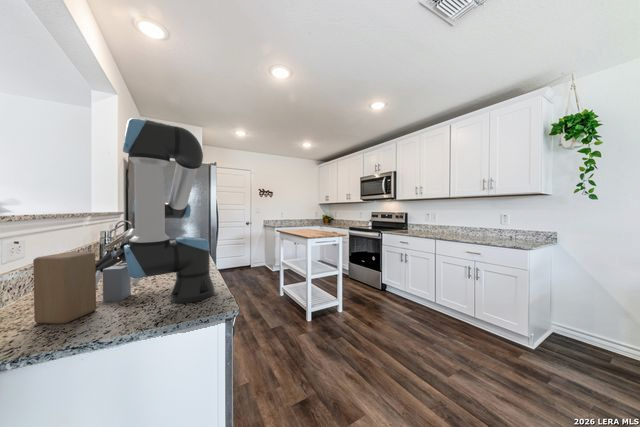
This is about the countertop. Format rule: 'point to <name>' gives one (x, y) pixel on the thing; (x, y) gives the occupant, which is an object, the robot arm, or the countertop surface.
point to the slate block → (116, 283)
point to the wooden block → (64, 286)
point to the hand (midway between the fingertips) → (113, 286)
